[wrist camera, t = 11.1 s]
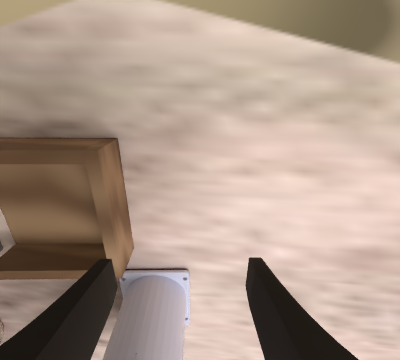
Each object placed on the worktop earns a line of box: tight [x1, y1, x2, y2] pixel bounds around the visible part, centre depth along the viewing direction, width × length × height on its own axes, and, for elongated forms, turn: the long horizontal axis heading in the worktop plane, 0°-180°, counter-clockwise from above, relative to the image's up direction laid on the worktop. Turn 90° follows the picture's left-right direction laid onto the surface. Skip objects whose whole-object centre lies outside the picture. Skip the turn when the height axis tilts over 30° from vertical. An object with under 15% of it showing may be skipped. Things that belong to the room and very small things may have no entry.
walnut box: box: [0, 138, 134, 280], centre depth 18 cm, size 12×12×4 cm
